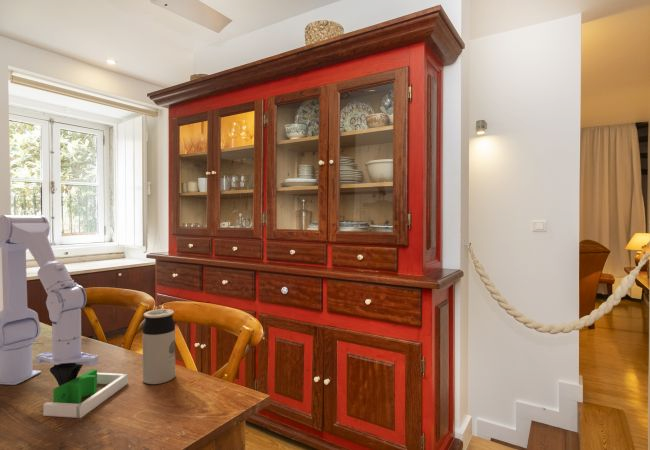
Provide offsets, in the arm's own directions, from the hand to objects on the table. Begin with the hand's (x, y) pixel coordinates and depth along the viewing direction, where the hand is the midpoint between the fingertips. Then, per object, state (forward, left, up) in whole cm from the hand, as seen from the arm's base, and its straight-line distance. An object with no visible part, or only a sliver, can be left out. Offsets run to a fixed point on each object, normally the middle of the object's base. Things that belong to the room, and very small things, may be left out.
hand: (67, 393), depth 90 cm
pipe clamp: (+3, 0, -1) cm, 4 cm away
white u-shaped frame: (+6, 0, -1) cm, 6 cm away
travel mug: (+17, +12, -1) cm, 20 cm away
